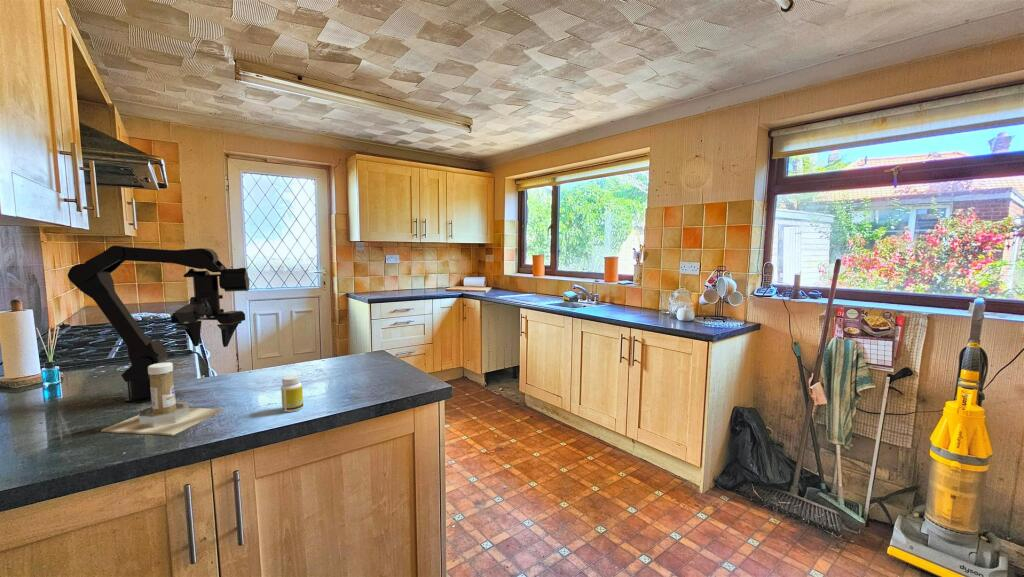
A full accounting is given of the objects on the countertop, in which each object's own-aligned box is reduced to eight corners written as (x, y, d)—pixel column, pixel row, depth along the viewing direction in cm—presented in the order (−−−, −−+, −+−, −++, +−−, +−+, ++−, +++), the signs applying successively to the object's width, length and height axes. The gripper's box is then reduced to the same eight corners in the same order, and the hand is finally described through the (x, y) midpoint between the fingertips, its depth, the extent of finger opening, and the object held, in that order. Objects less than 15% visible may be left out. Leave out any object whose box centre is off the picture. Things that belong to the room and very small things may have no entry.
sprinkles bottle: (176, 420, 100) (171, 364, 99) (151, 424, 98) (146, 368, 96) (178, 413, 104) (173, 360, 103) (154, 418, 102) (149, 363, 100)
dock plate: (101, 431, 95) (101, 430, 95) (159, 408, 109) (159, 406, 109) (172, 435, 93) (172, 433, 93) (223, 410, 107) (223, 409, 107)
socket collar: (129, 426, 97) (128, 415, 97) (166, 411, 106) (165, 401, 106) (164, 427, 96) (164, 417, 96) (198, 412, 105) (198, 402, 105)
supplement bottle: (307, 406, 109) (305, 375, 108) (292, 413, 105) (290, 380, 104) (293, 404, 111) (291, 373, 110) (278, 411, 106) (275, 378, 105)
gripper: (149, 295, 113) (155, 352, 114) (213, 296, 110) (217, 354, 112) (186, 291, 124) (190, 343, 125) (244, 291, 121) (248, 344, 123)
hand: (210, 346), depth 121 cm, fingers open, 9 cm apart
